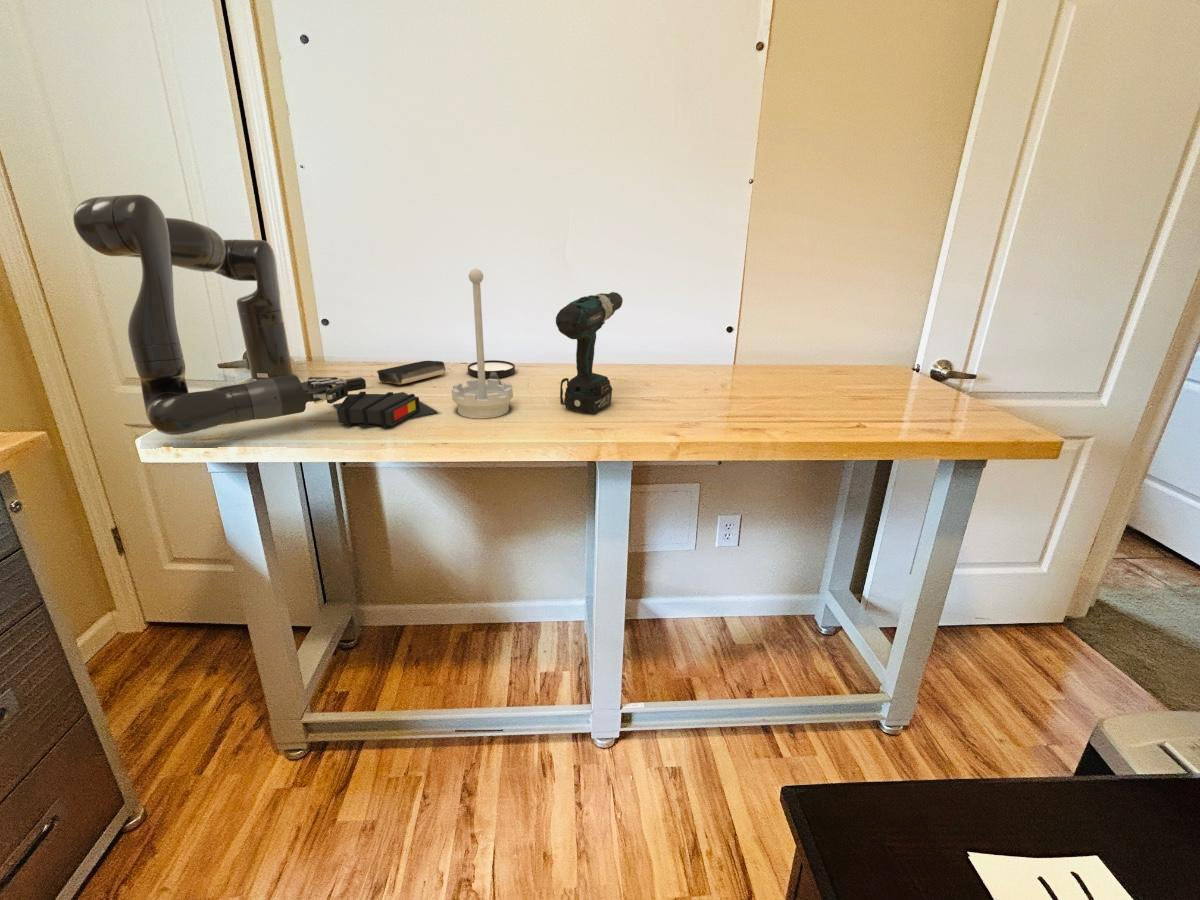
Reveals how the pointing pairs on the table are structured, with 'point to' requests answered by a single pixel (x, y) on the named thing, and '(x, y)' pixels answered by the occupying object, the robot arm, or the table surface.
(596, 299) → the power drill
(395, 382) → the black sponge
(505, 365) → the magnifying glass
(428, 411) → the mat
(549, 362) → the table surface
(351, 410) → the black tall stepped block
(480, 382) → the flag stand
